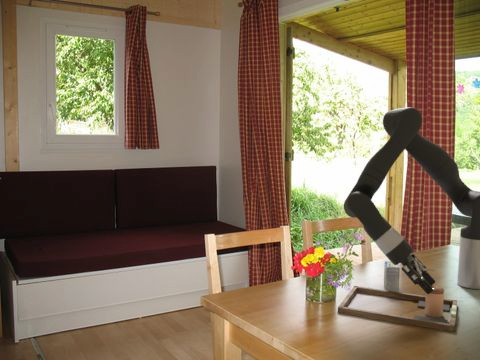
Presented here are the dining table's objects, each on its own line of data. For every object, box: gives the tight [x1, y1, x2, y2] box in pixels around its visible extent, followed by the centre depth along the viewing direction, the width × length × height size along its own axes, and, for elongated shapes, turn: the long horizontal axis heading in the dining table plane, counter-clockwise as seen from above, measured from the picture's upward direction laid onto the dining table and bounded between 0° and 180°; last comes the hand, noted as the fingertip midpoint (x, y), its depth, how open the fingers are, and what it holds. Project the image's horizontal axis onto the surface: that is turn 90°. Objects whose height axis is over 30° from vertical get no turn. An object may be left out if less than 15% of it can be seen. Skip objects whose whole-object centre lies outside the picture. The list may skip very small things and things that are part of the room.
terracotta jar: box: [424, 285, 445, 319], centre depth 151 cm, size 5×5×8 cm
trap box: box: [337, 285, 458, 333], centre depth 156 cm, size 23×32×2 cm
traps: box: [413, 300, 451, 324], centre depth 152 cm, size 20×9×1 cm, turn 155°
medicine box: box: [383, 260, 401, 292], centre depth 175 cm, size 8×4×9 cm, turn 168°
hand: (432, 288), depth 151 cm, fingers open, 8 cm apart
